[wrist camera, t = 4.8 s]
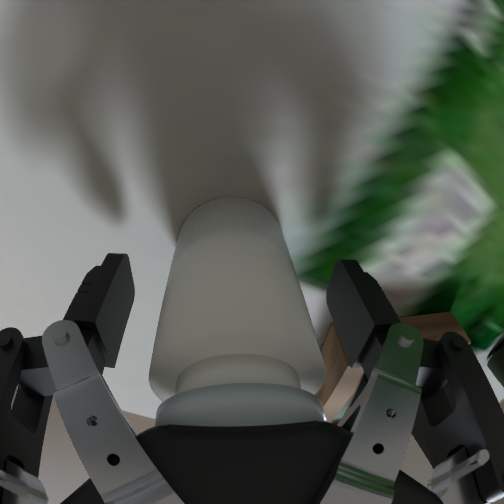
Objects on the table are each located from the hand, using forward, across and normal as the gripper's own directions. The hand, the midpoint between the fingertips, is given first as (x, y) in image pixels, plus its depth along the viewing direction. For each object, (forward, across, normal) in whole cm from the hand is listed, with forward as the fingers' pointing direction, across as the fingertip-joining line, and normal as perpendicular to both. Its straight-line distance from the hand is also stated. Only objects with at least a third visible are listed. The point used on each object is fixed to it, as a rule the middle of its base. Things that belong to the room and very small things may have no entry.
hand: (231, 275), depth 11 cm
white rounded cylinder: (+2, 0, 0) cm, 2 cm away
